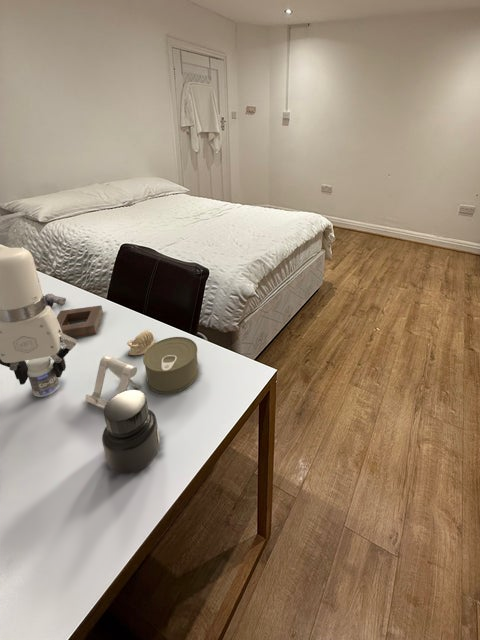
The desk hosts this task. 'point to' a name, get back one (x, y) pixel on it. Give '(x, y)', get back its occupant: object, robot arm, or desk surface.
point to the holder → (80, 329)
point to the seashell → (53, 300)
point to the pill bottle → (42, 376)
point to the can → (171, 365)
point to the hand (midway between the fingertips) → (43, 375)
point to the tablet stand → (119, 369)
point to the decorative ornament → (141, 343)
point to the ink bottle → (129, 432)
